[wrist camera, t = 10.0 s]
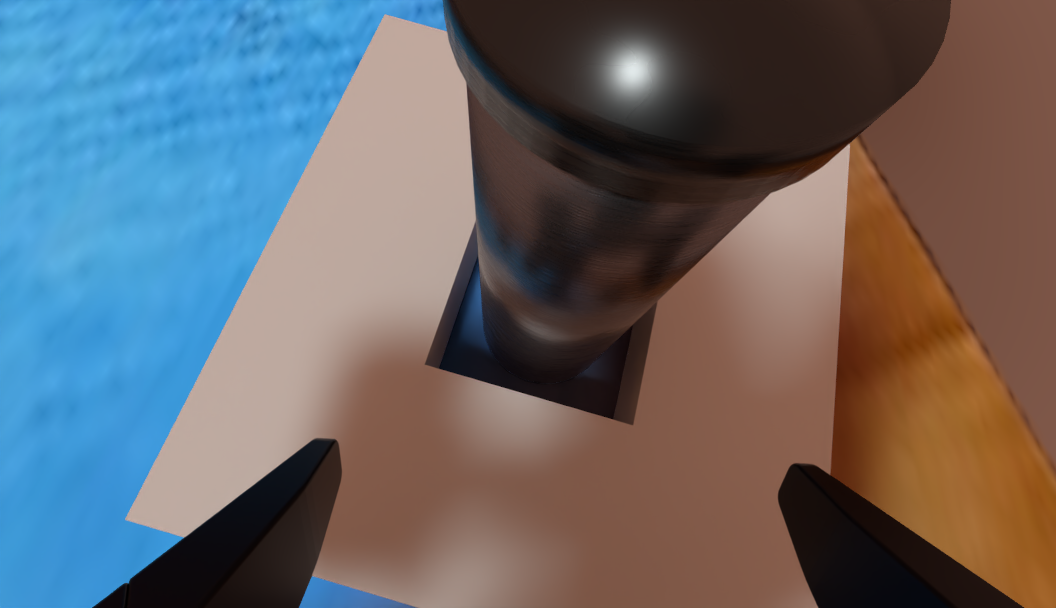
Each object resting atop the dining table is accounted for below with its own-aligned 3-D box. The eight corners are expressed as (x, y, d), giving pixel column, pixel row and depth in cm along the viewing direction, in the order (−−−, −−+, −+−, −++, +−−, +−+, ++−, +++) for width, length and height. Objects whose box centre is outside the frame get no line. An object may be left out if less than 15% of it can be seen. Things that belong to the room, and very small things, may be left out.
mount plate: (757, 678, 16) (815, 726, 13) (189, 509, 16) (124, 519, 13) (803, 184, 22) (849, 144, 19) (398, 70, 22) (384, 14, 20)
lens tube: (594, 405, 18) (957, 216, 4) (460, 366, 18) (347, 46, 4) (622, 280, 20) (946, -162, 6) (500, 246, 20) (519, -274, 6)
